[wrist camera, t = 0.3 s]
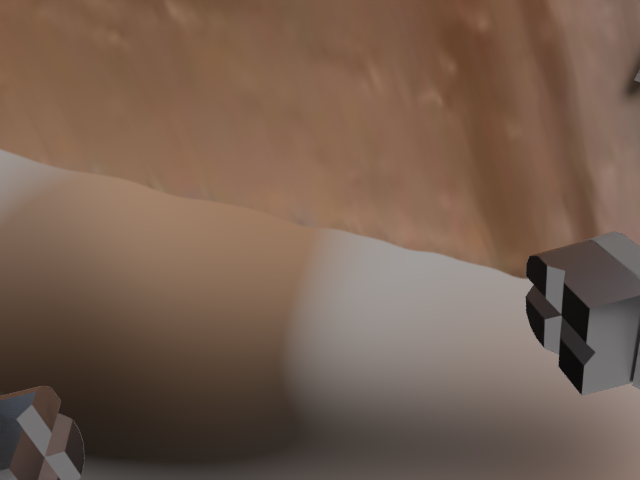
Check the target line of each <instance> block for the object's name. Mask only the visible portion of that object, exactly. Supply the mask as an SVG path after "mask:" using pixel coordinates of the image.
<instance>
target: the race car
mask: <svg viewBox="0 0 640 480" xmlns="http://www.w3.org/2000/svg"><path fill="white" fill-rule="evenodd" d="M634 80H635V81H638V82H640V69H639V71H638V73H637V75H636V77H635V79H634Z"/></svg>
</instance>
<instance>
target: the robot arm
mask: <svg viewBox="0 0 640 480" xmlns="http://www.w3.org/2000/svg"><path fill="white" fill-rule="evenodd" d="M526 276H527V278H528V279H529V280H530V281H531V282H532V283H533V284H534V285H533V287H532V288H531V289H530V291H529V292H528V294H527V296H526V313H527V316H528V320H529V324H530V326H531V329H532V331H533V333H534V335H535V336H536V338H537V339H538V341H539V342H540V343H541V345H542V346H543V347H544V348H545V349H547V350H550V351H552V352H555V353H557V354H559V368H560V369H561V370H562V372H563V373H564V374H565V375H566V377H567V378H568V379H569V380H570V381H571V383H572V384H573V385H574V387H575V388H576V389H577V390H578V392H579V393H580V394H581V395H586V394H590V393H593V392H597V391H602V390H606V389H610V388H614V387H618V386H621V385H625V384H629V383H633V386H635V387H637V388H638V389H640V246H639V245H637V244H636V243H635V242H633V241H632V240H631V239H629V238H628V237H627V236H625V235H624V234H622V233H619V232H615V231H614V232H610V233H607V234H604V235H600V236H597V237H593V238H590V239H586V240H585V241H582V242H578V243H575V244H571V245H568V246H564V247H560V248H557V249H553V250H549V251H546V252H542V253H538V254H535V255H531V256H529V258H528V261H527V263H526ZM60 402H61V401H60V400H59V398H58V396H57V395H56V394H55V392H54V391H53V389H52V388H51V387H46V386H40V387H36V388H32V389H28V390H23V391H19V392H15V393H11V394H7V395H3V396H0V480H79V479H80V477H81V476H82V470H83V465H84V445H83V440H82V437H81V434H80V431H79V429H78V427H77V426H76V424H75V423H74V421H73V420H72V419H70V418H68V417H66V416H63V415H61V414H59V413H58V409H59V406H60Z"/></svg>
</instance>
